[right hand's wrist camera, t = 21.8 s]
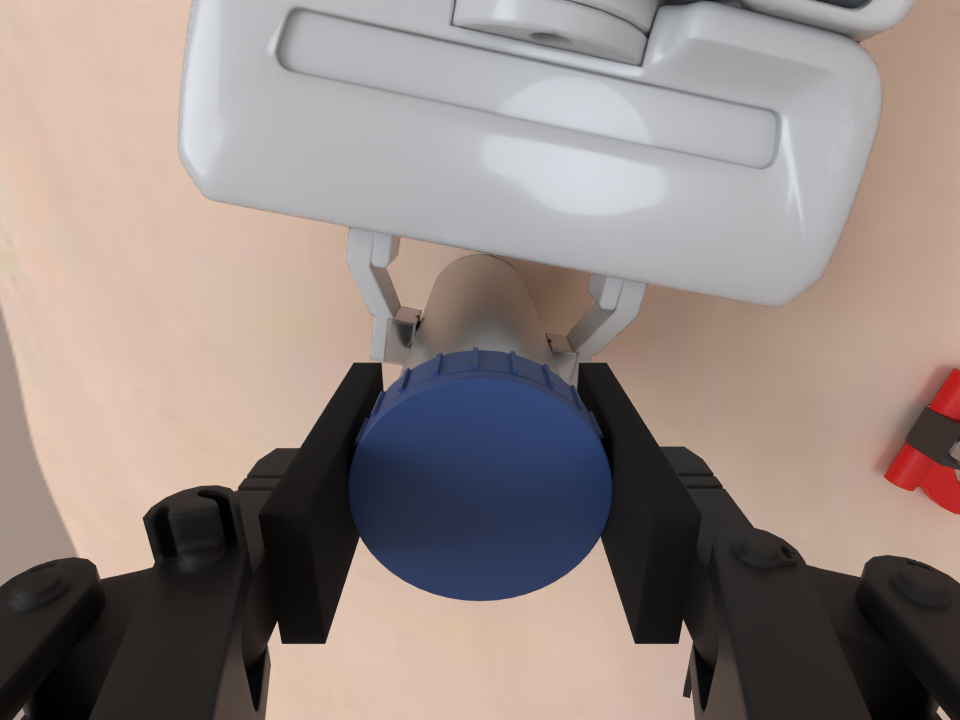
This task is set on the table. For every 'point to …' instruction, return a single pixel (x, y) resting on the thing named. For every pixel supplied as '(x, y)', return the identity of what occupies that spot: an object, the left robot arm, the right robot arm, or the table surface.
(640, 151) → the left robot arm
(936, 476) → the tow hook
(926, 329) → the table surface
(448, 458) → the lid
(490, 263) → the thermos
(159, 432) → the table surface
